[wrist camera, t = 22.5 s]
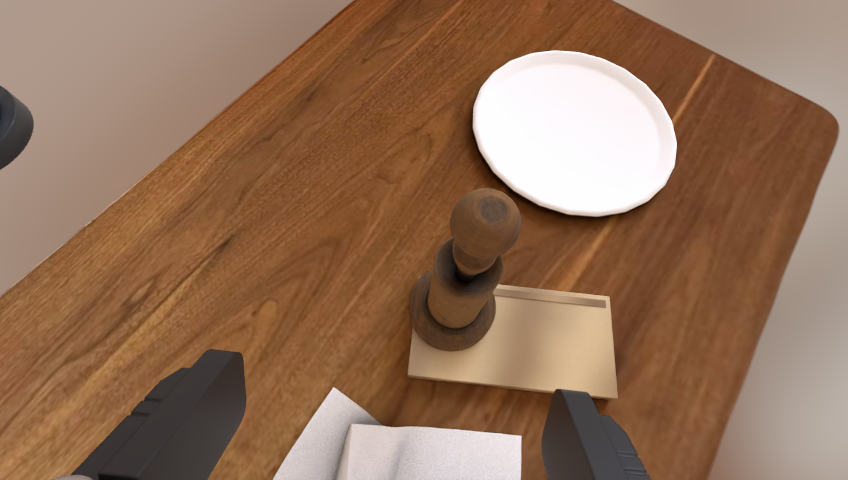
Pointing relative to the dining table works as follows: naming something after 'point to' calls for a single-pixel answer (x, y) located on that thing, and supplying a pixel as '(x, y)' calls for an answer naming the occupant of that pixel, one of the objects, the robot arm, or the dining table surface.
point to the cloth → (394, 450)
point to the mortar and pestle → (466, 272)
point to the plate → (574, 133)
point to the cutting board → (532, 346)
